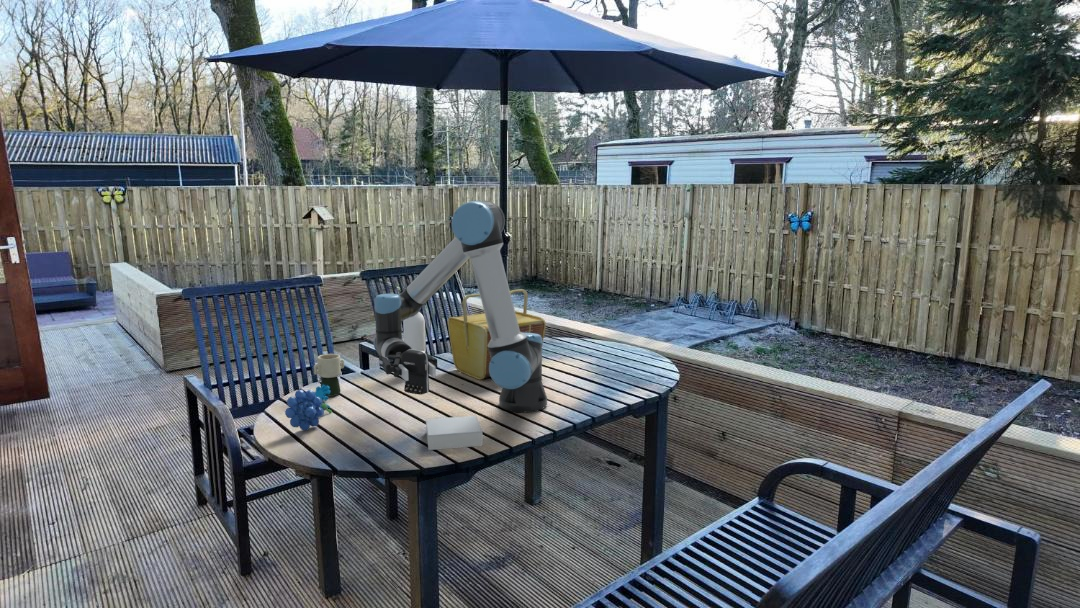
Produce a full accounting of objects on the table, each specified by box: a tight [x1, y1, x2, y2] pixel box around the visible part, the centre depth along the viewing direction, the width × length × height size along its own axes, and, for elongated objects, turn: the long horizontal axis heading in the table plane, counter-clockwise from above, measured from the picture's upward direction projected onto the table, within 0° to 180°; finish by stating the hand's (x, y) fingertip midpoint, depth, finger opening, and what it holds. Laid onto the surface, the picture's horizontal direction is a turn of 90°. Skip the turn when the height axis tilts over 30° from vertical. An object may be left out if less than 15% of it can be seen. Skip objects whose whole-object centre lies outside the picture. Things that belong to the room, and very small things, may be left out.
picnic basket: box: [447, 288, 547, 381], centre depth 233 cm, size 29×26×30 cm
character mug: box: [313, 353, 345, 397], centre depth 203 cm, size 11×7×13 cm, turn 141°
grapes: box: [284, 389, 325, 431], centre depth 172 cm, size 12×7×12 cm, turn 144°
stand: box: [425, 415, 483, 451], centre depth 168 cm, size 14×12×4 cm
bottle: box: [402, 311, 427, 352], centre depth 228 cm, size 8×8×30 cm
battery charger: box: [401, 349, 430, 396], centre depth 163 cm, size 7×4×11 cm, turn 64°
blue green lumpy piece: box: [314, 384, 333, 414], centre depth 189 cm, size 11×6×10 cm
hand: (420, 373), depth 159 cm, fingers closed on battery charger, 6 cm apart
